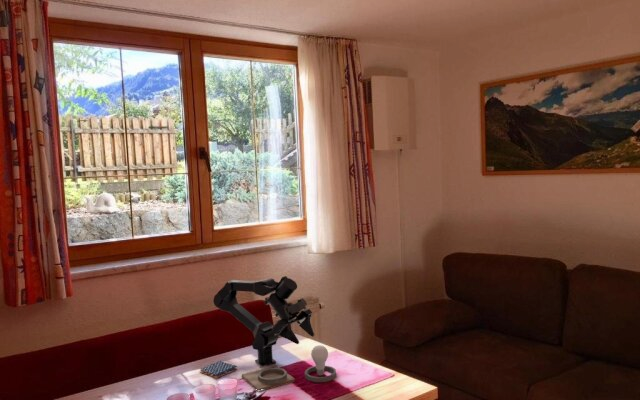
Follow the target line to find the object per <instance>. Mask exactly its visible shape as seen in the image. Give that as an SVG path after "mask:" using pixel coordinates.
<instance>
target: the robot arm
mask: <svg viewBox="0 0 640 400" xmlns="http://www.w3.org/2000/svg"><path fill="white" fill-rule="evenodd" d="M297 289H298V284H297V282H296V281H295V280H293V279H291V278H289V277H288V276H286V275H285V276H282V277H281V278H280V280H279V281H276V280H275V279H274V278H272V277H270V278H265V279H261V280H240V279H232V280H229V281H226V282H225V284H224V285H223V287H222V288H221V289H220V290H219V291H218V292H217V293H216V294H214V297H213V305H214V306H215V307H216V308H217V309H219V310H221V311H224V312H227V313H230V314H231V315H232V316H233V317H234V318H236V319H237V321H239V322H240V323H242V324H243V325H244V326H245V327H246V328H247V329H248V330H249V331H251V332H252V334H253V337H254V341H253V342H252V343H251V346H252V349H253V350H256V351H257V359H255V360H254V362H255V363H256V364H258V365H259V366H260V367H264V366H267V365H268V366H269V365H271V364H275V363H277V360H275V359H274V358H273V346H276V345H277V342H278V339H279V337H282V338H283V339H285V340H289V341H290V342H291V343H294V344H296V345H299V344H300V341H299V339H298V337H297V336H296V334H295V333H294V331H293V330H292V324H295V323H297V324H298V327H300V328H301V329H302V330H303V331H304V332H305V333H307V334H308V335H309V336H310V337H314V336H315V333H314V331H313V327H312V324H311V318H312V315H313V311H311V309H310V308H307V305H308V303H307V301H306V300H305V299H304V297H302V298H300V299H298V300H296V301H297V302H296V303H292V302H288V301H287V300H288V299H289V298H290V297H291V296H292V295H293V294H294V293H295V291H296V290H297ZM238 292H250V293H254V294H255V295H256V296H257V295H258V296H261V297H264V296H267V295H269V296H267V297H265V298H264V305H265V306H268V305H270V306H271V308H272V309H273V311H275V314H274V315H275V317H279V319H278V320H277V321H276V322H275V324H272V323H271V322H270V321H268V320H267V321H265V322H261V321H260V320H259V319H258V318H257V317H255V316H254V315H253V314H252V313H251V312H249V311H248V310H247V309H246V308H245V307H244V306H242V305H241V304H240V303H239V302H238V298H237V296H238Z"/></svg>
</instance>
